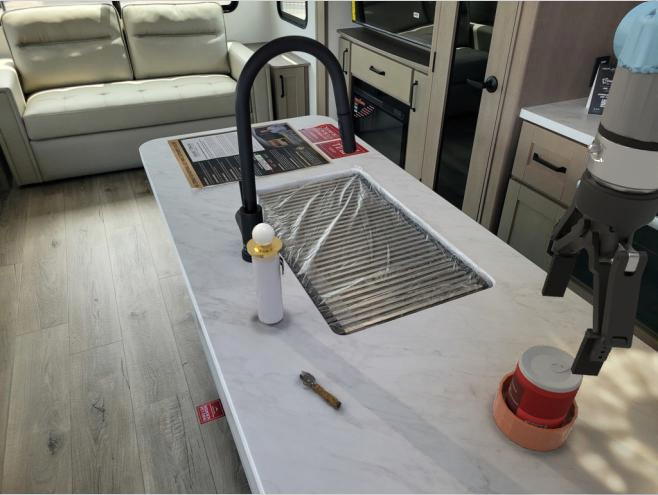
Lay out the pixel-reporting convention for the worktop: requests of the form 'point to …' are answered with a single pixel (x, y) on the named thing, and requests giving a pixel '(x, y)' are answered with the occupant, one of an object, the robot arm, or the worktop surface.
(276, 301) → the perfume bottle
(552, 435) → the bowl
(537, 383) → the canned food
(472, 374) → the worktop surface
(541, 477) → the worktop surface
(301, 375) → the can opener
